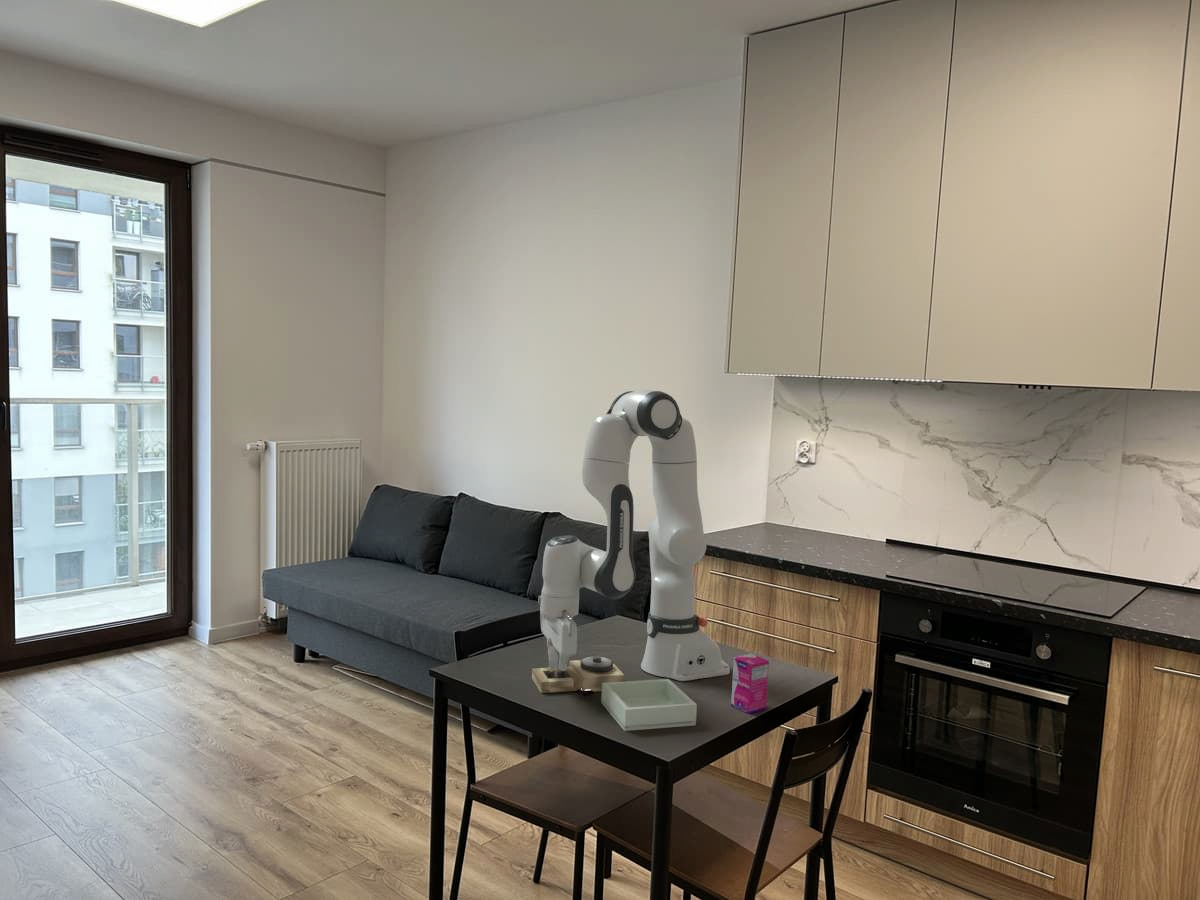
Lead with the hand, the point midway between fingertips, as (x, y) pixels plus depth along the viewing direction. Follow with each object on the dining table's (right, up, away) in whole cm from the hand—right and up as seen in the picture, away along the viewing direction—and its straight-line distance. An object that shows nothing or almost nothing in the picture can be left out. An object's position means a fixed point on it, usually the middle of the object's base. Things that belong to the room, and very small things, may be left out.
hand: (557, 663), depth 205 cm
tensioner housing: (+5, -5, +2) cm, 7 cm away
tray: (+20, -7, -15) cm, 26 cm away
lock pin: (0, -5, 0) cm, 5 cm away
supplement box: (+44, -8, -9) cm, 45 cm away
